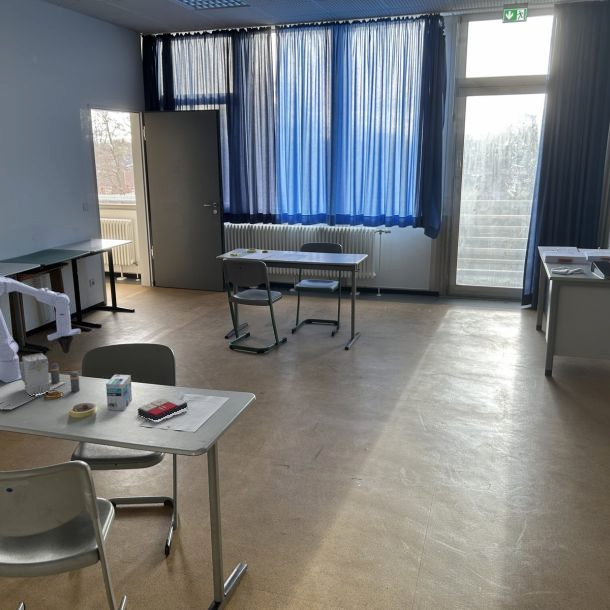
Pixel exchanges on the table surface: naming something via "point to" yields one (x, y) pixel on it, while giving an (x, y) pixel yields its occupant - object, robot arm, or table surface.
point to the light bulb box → (119, 392)
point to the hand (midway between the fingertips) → (65, 352)
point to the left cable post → (54, 373)
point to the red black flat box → (161, 408)
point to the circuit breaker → (35, 373)
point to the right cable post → (74, 381)
